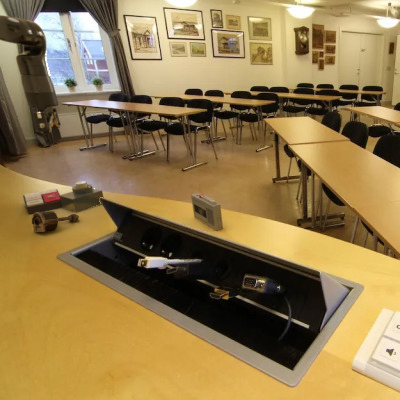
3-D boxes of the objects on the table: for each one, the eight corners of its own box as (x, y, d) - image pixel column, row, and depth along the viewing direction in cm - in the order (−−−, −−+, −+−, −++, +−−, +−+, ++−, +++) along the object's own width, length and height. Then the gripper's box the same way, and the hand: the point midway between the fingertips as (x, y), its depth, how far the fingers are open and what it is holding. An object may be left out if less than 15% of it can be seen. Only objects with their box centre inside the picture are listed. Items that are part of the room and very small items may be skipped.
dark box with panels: (25, 205, 118) (22, 193, 128) (29, 216, 120) (25, 203, 129) (62, 198, 125) (56, 187, 135) (65, 208, 127) (59, 196, 137)
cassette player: (194, 217, 119) (190, 192, 116) (201, 215, 121) (197, 190, 117) (215, 230, 109) (212, 203, 106) (223, 228, 111) (220, 201, 107)
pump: (80, 189, 125) (78, 184, 124) (74, 188, 126) (73, 183, 126) (89, 186, 128) (88, 182, 127) (84, 185, 129) (83, 180, 129)
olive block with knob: (76, 212, 122) (70, 194, 119) (62, 208, 125) (57, 190, 123) (105, 203, 131) (100, 185, 128) (91, 199, 135) (87, 182, 132)
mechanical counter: (25, 213, 108) (25, 216, 100) (70, 200, 115) (73, 202, 108) (35, 233, 110) (35, 237, 102) (79, 219, 117) (82, 222, 110)
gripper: (32, 89, 105) (46, 139, 111) (15, 91, 93) (32, 147, 99) (60, 89, 108) (73, 137, 114) (47, 91, 96) (62, 145, 102)
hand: (54, 142), depth 106 cm, fingers open, 8 cm apart
